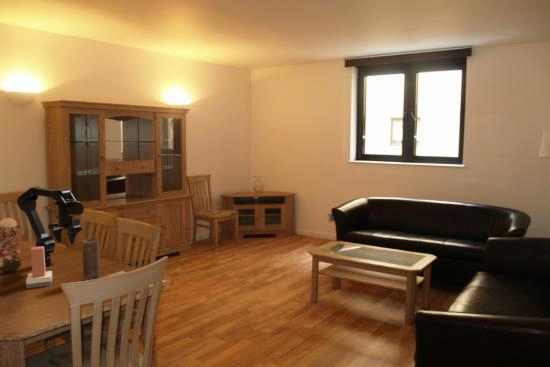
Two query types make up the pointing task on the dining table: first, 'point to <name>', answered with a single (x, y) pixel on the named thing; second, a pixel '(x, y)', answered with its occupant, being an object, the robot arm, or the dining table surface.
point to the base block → (39, 280)
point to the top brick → (38, 261)
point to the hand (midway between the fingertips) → (65, 243)
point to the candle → (91, 258)
